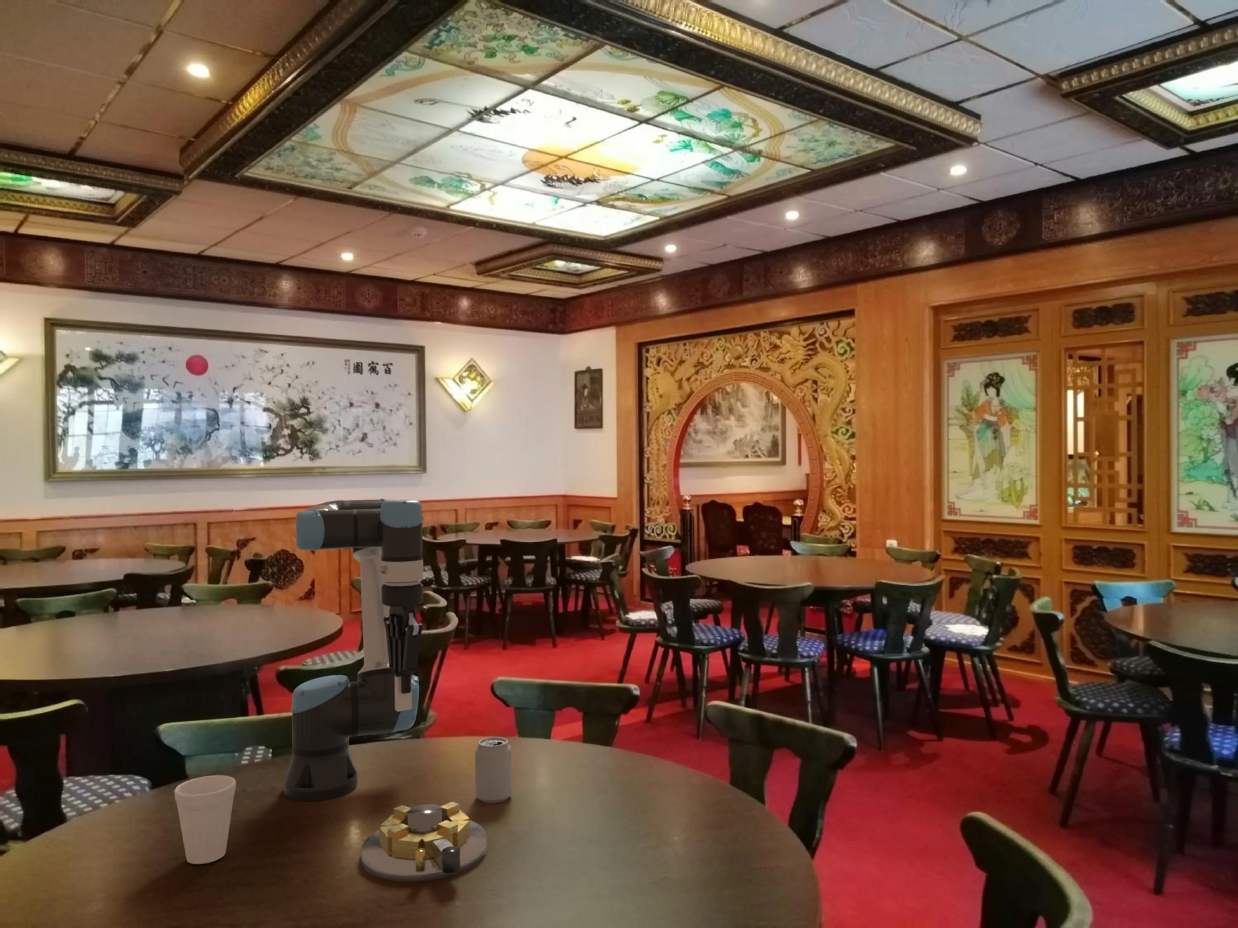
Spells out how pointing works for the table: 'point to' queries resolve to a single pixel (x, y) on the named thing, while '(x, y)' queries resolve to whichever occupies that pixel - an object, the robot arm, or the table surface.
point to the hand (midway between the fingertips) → (403, 709)
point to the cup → (205, 816)
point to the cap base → (409, 865)
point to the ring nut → (427, 837)
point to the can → (493, 770)
